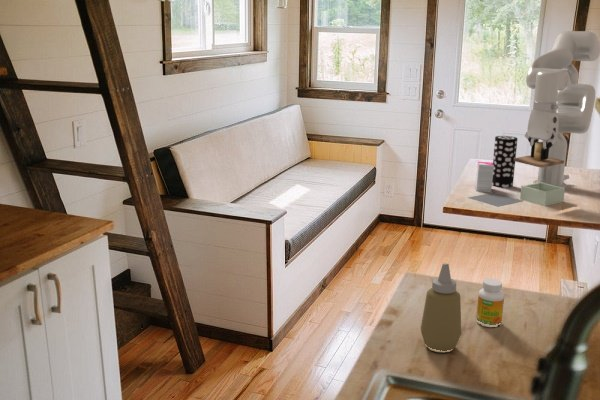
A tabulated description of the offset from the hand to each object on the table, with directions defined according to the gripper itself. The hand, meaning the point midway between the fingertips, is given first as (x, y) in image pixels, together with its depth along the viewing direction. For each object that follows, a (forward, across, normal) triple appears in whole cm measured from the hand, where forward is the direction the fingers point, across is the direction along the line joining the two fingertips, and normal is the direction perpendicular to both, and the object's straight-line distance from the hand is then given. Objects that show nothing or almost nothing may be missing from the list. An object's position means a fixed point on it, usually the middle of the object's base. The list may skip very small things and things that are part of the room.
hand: (539, 157), depth 231 cm
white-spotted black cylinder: (+17, +21, -7) cm, 28 cm away
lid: (+2, 0, 0) cm, 2 cm away
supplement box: (+17, +20, +5) cm, 27 cm away
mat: (+17, +8, +12) cm, 22 cm away
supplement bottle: (+15, -60, +89) cm, 108 cm away
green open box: (+17, -2, -1) cm, 17 cm away
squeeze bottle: (+14, -63, +106) cm, 124 cm away
